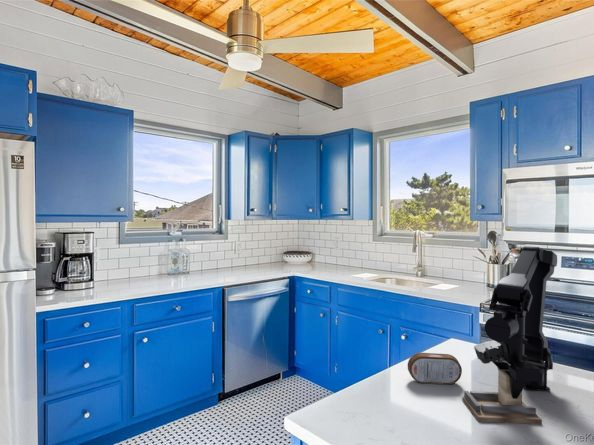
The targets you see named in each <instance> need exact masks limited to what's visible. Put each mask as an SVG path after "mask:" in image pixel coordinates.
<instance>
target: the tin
mask: <svg viewBox="0 0 594 445" xmlns="http://www.w3.org/2000/svg"><path fill="white" fill-rule="evenodd" d="M462 370H463V369H462V366H461V363H460V361H459V360H458V359H457V358H456V357H455V356H454V355H452V354H449V353H435V352H433V353H432V352H418V353H415V354H413V355H411V356H410V358H409V359H408V362H407V371H408V373H409V375H410V377H411V378H412V379H413V380H414V381H416V382H418V383H419V384H430V385H431V384H434V385H453V384H455V383H458V381H459V380H460V379H461V377H462V374H463V372H462Z"/></svg>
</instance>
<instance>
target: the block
mask: <svg viewBox="0 0 594 445" xmlns="http://www.w3.org/2000/svg"><path fill="white" fill-rule="evenodd" d="M497 370H498V369H497ZM504 371H509V370H502V369H499V370H498V375H497V376H498V378H497V381H498V382H497V384H498V385H497V392H498V401H499V402H500V403H501V404H502V405H522V402H523V391H522V392H521V394H520V395H519V397H518V398H517V399H513V398H512V394H511V387H510V378H509V376H508V375H507V374H506V373H505V372H504Z"/></svg>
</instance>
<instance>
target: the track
mask: <svg viewBox="0 0 594 445" xmlns="http://www.w3.org/2000/svg"><path fill="white" fill-rule="evenodd" d="M469 391H470V392H469ZM461 400H462V402H463V403H464V405H465V406H466V407H467V409H468V410H469V411H470V412H471V413H472V415H473V416H474V417H475V419H476V420H477V421H478V422H485V423H486V422H488V423H510V424H512V423H514V424H537V425H538V424H539V425H542V423H543V420H542V418H541V417H540V416H538V414H537V407H536V406H535V405H527V404H526V403H524V401H522V405H502V404H501V403H500V402H499V401H498V391H482V390H481V391H478V390H477V391H476V390H474V391H473V390H464V391H463V396H462V397H461Z"/></svg>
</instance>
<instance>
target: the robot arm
mask: <svg viewBox="0 0 594 445" xmlns="http://www.w3.org/2000/svg"><path fill="white" fill-rule="evenodd" d="M557 266H558V254H556V253H555V252H553V251H552V250H549V249H547V250H546V249H543V248H542V247H539V246H527V245H526V246H524V245H523V246H521V247H520V249H519V255H518V258H516V261H515V264H514V266H513V267H512V269H511V271H510V272H509V275H506V276H504V277H502V278H501V279H499V282H498V283H497V284H496V285H495V286H494V288H493V292H492V296H491V299H490V303H489V307H488V309H489V310H491V311H493V316H491V317H490V318H488V319H487V320H486V321H485V324H484V331H485V334H486V335H487V336H488V338H489V339H491V340H488V341H484V342H482V343H478V344H475V345H473V350H474V351H475V354H476V357H477V359H478V360H479V361H480V362H481V363H483V364H485V365H486V364H490V363H491V362H492V363H493V364H494V365H495V367H497V370H499V369H502V370H509V371H504V372H505V373H506V374H507V375H508V376H509V378H510V387H511V394H512V398H513V399H517V398H518V397H519V395H520V394H521V392H522V393H523V390H524V389H525V390H527V391H551V388H550V387H549V386H548V371H549V370H553V369H554V362H553V360H554V359H553V356H552V354H551V350H550V348H549V341H548V339H547V337H546V335H545V334H544V332H543V329H544V328H543V327H544V316H545V303H546V290H547V281H548V280H549V279H550V278H551V277H552V276H553V274H554V273H555V267H557Z"/></svg>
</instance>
